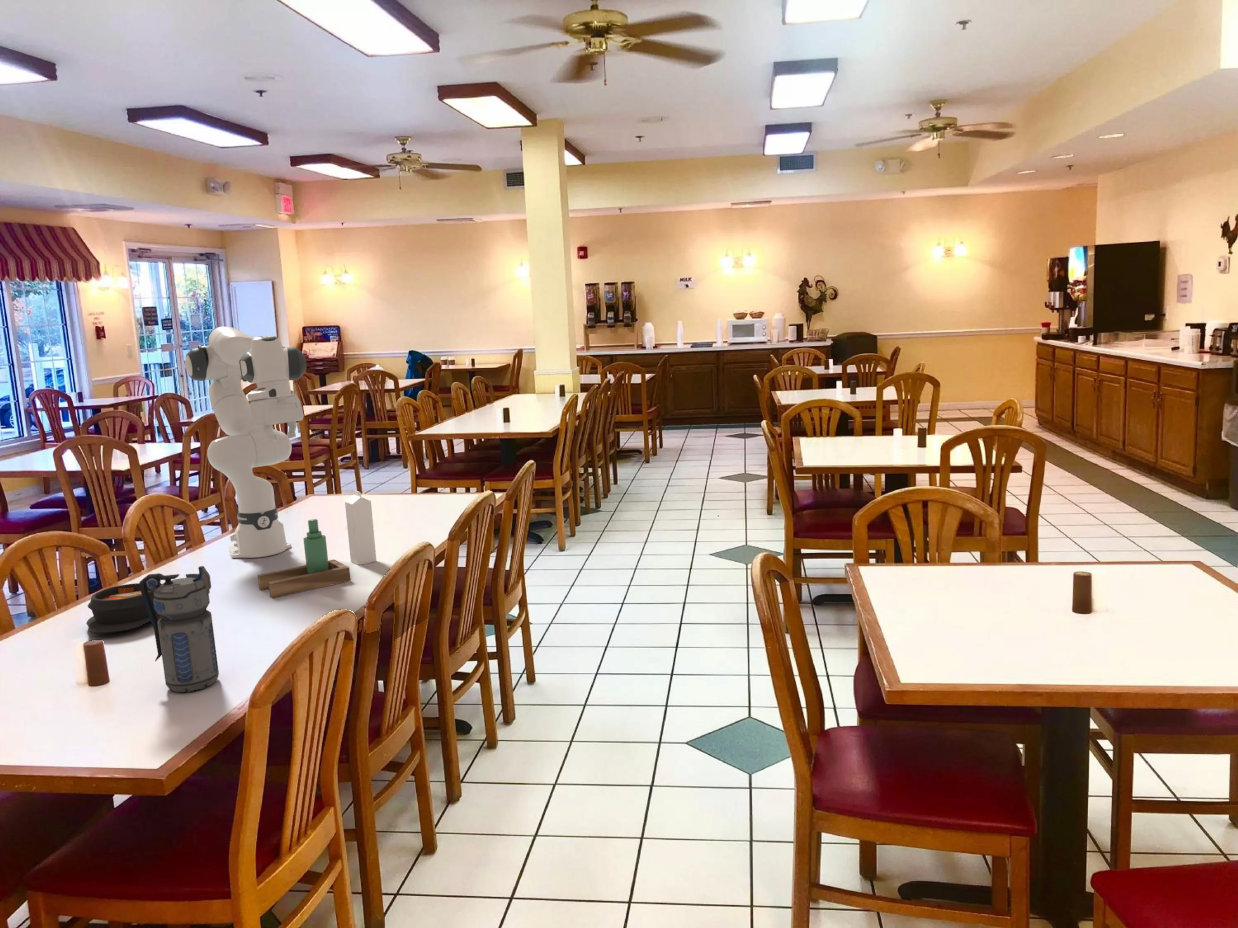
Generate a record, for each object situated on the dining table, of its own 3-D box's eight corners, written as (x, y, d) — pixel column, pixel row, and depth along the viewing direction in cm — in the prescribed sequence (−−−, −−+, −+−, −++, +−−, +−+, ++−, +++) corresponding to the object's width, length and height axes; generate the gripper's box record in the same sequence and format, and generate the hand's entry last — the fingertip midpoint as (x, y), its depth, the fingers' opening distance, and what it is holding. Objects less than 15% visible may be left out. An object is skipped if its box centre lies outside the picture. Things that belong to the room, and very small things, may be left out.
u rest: (259, 588, 262) (257, 574, 262) (335, 572, 275) (334, 559, 275) (272, 598, 253) (270, 583, 252) (350, 580, 266) (349, 567, 265)
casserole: (109, 610, 249) (104, 580, 247) (182, 604, 251) (178, 574, 250) (69, 643, 224) (64, 610, 223) (151, 636, 227) (146, 602, 225)
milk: (358, 565, 282) (350, 494, 278) (350, 561, 287) (343, 491, 283) (377, 561, 286) (370, 490, 282) (369, 557, 291) (362, 488, 287)
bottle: (305, 581, 267) (298, 520, 264) (325, 577, 271) (319, 516, 267) (312, 586, 262) (305, 523, 259) (333, 581, 266) (326, 520, 263)
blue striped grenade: (162, 679, 198) (146, 565, 194) (228, 672, 200) (214, 559, 196) (147, 698, 188) (130, 579, 184) (216, 691, 191) (201, 572, 186)
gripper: (286, 391, 280) (293, 437, 281) (243, 395, 260) (251, 444, 262) (304, 388, 278) (312, 434, 280) (262, 392, 259) (271, 441, 260)
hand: (282, 439), depth 271 cm, fingers open, 8 cm apart
